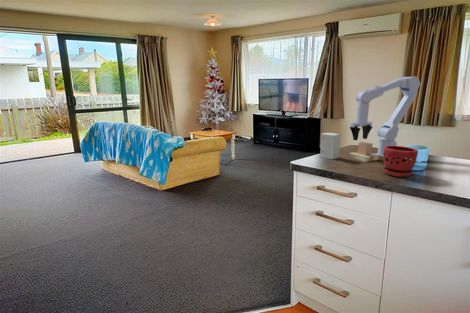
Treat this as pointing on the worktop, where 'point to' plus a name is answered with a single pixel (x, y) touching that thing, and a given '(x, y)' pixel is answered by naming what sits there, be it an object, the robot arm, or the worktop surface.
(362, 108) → the robot arm
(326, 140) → the small box
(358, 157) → the beige shallow dish
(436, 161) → the worktop surface
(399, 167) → the plant pot
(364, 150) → the clay block
